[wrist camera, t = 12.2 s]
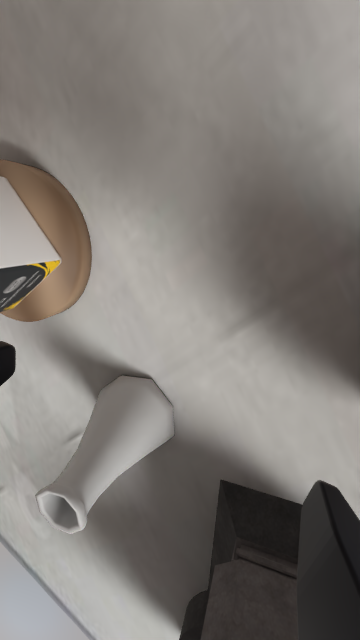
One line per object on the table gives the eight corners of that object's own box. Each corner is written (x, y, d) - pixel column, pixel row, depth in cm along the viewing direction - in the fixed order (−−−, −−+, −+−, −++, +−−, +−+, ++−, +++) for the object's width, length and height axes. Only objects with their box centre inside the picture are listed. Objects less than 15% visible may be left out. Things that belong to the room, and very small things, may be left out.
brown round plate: (57, 138, 20) (35, 129, 18) (111, 300, 22) (96, 306, 21) (-45, 195, 24) (-71, 193, 23) (10, 324, 27) (-10, 331, 25)
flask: (91, 380, 26) (-11, 463, 17) (158, 366, 23) (79, 456, 14) (121, 446, 27) (42, 556, 18) (188, 441, 24) (133, 567, 15)
